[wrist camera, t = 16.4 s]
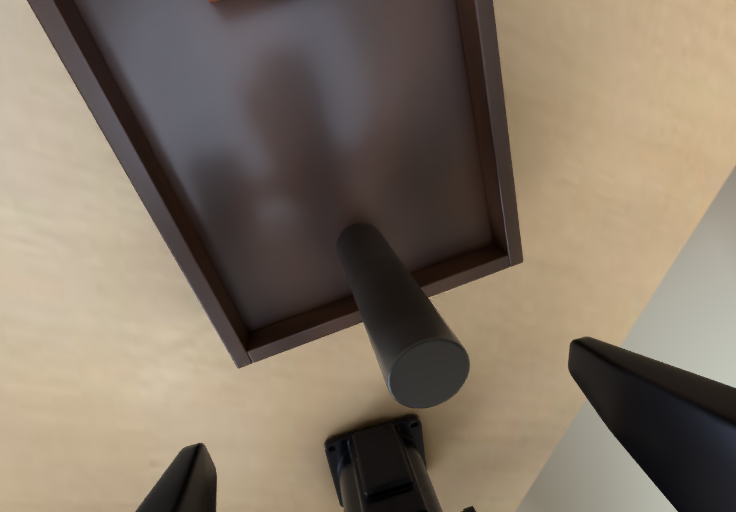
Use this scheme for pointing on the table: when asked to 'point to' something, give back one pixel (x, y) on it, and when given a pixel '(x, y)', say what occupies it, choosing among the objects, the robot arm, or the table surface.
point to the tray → (310, 162)
